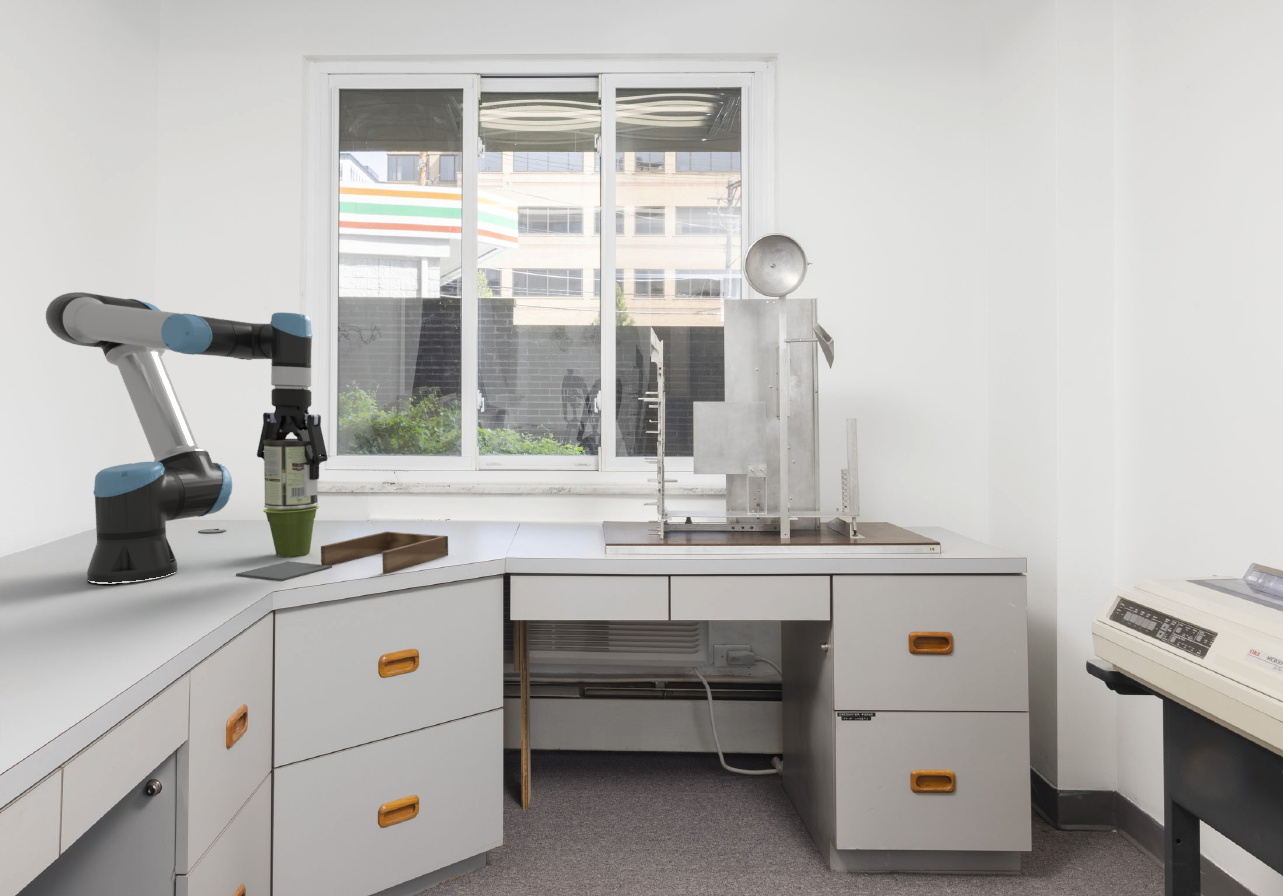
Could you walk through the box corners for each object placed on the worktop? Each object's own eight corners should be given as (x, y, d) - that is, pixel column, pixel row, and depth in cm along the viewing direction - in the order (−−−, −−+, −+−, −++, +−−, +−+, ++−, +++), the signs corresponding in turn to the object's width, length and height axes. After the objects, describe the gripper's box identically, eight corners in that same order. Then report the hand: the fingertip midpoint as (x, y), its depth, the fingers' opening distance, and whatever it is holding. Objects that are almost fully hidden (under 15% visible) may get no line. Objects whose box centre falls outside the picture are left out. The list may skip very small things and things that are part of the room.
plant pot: (265, 552, 171) (263, 506, 171) (318, 548, 177) (317, 503, 176) (264, 561, 161) (262, 512, 160) (321, 556, 166) (320, 509, 166)
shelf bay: (321, 566, 156) (320, 546, 155) (387, 549, 175) (386, 531, 174) (387, 573, 149) (386, 552, 149) (448, 554, 168) (447, 536, 168)
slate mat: (236, 575, 147) (235, 573, 147) (288, 563, 159) (288, 561, 159) (281, 580, 142) (281, 578, 142) (332, 567, 154) (331, 565, 154)
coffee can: (292, 501, 156) (292, 437, 155) (328, 505, 152) (328, 439, 151) (251, 507, 146) (251, 439, 145) (289, 511, 143) (289, 441, 142)
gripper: (346, 389, 147) (346, 495, 148) (267, 387, 155) (268, 487, 157) (318, 388, 140) (317, 499, 142) (237, 386, 149) (237, 491, 150)
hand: (291, 493), depth 149 cm, fingers closed on coffee can, 10 cm apart
